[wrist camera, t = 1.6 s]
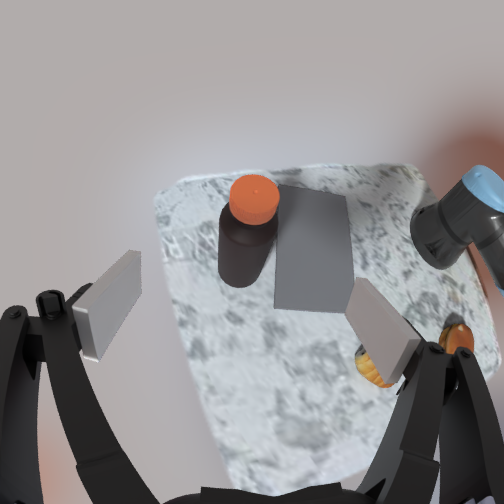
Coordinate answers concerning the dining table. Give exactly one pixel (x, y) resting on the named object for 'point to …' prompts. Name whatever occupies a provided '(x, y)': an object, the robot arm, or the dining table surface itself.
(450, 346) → the burger
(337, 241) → the mat
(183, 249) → the dining table surface
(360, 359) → the pastry
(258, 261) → the vinegar
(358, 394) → the dining table surface
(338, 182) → the dining table surface
